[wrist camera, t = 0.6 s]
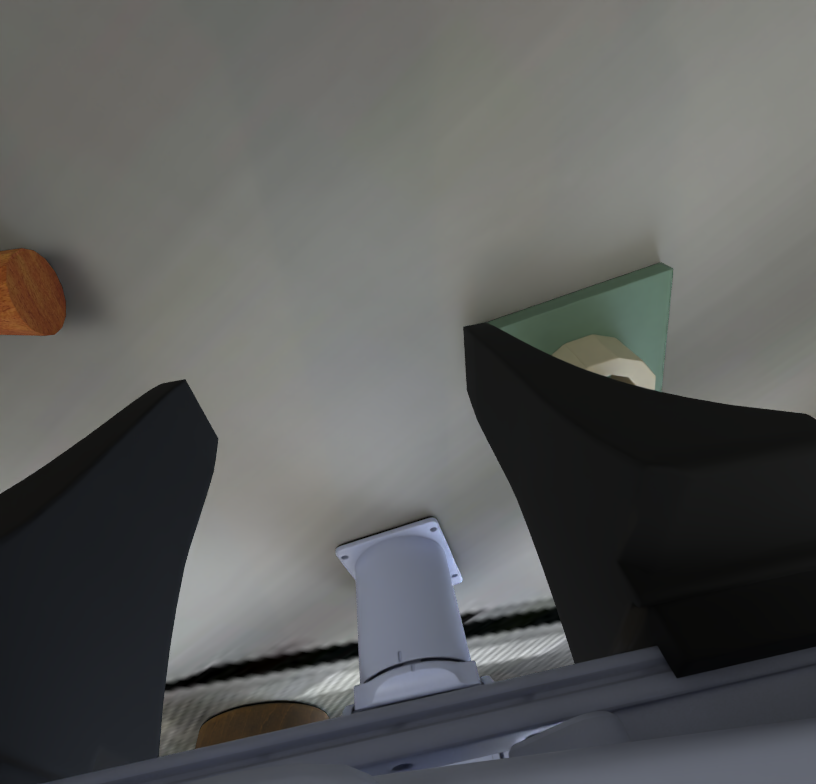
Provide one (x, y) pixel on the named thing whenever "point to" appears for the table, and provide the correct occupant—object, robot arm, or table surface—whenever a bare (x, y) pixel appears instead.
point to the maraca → (29, 295)
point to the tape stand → (604, 316)
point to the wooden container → (256, 721)
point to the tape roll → (607, 360)
